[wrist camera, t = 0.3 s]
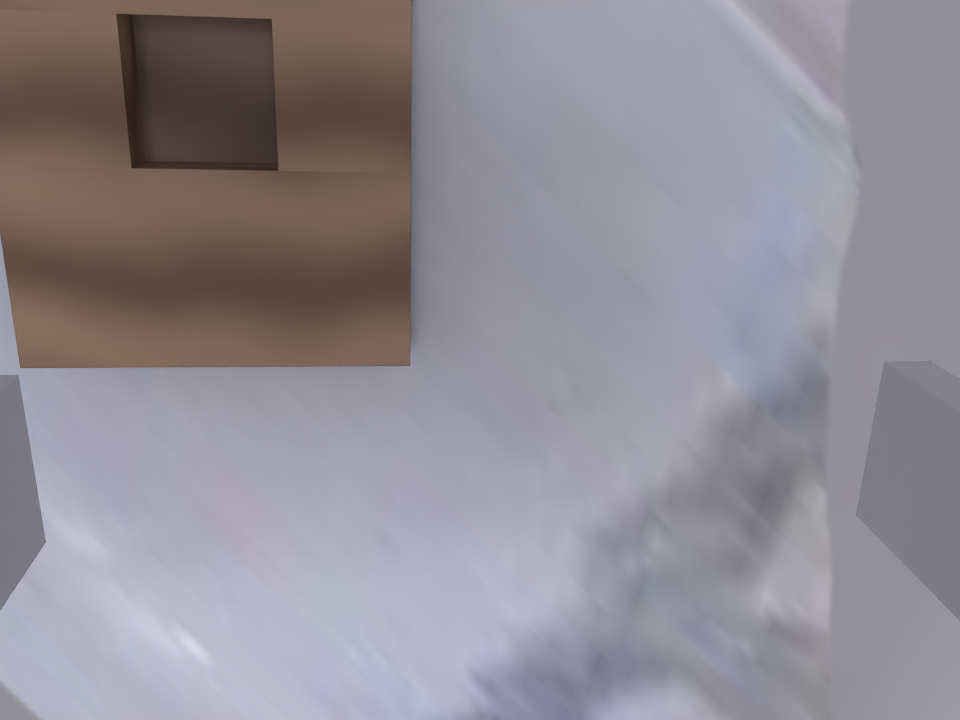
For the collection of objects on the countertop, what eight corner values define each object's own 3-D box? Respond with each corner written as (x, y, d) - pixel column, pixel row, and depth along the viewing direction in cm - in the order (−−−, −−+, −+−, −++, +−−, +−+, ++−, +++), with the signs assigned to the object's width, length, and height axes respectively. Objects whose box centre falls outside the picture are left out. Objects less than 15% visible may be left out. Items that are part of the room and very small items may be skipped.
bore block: (-34, -233, 32) (-74, -258, 30) (410, -205, 34) (412, -228, 31) (46, 344, 40) (20, 368, 37) (408, 343, 41) (409, 365, 39)
